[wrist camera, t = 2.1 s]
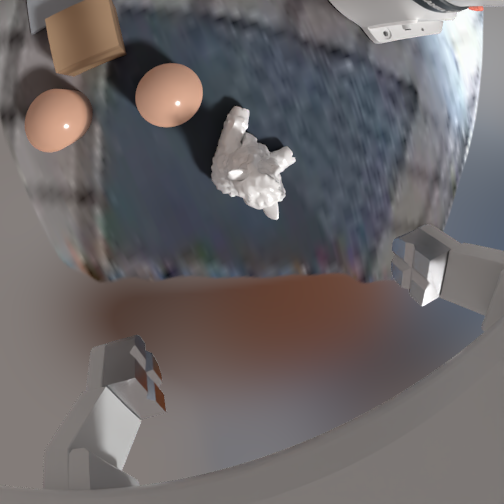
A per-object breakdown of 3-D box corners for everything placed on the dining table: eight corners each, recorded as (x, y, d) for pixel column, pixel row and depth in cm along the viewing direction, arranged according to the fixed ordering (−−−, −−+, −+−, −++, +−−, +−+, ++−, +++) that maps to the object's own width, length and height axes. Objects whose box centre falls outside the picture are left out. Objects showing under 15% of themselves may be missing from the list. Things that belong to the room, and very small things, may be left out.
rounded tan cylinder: (189, 62, 26) (194, 55, 22) (202, 113, 29) (209, 115, 25) (133, 79, 25) (128, 75, 21) (148, 130, 29) (145, 136, 24)
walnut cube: (115, 8, 21) (107, -9, 16) (126, 54, 24) (119, 45, 19) (63, 30, 20) (44, 19, 15) (74, 76, 23) (56, 72, 18)
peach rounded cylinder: (84, 80, 24) (71, 77, 19) (99, 130, 27) (88, 136, 23) (37, 104, 23) (18, 107, 19) (52, 152, 26) (35, 162, 22)
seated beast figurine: (294, 155, 34) (350, 183, 24) (246, 208, 36) (284, 258, 26) (236, 101, 30) (275, 104, 20) (184, 161, 31) (197, 194, 21)
